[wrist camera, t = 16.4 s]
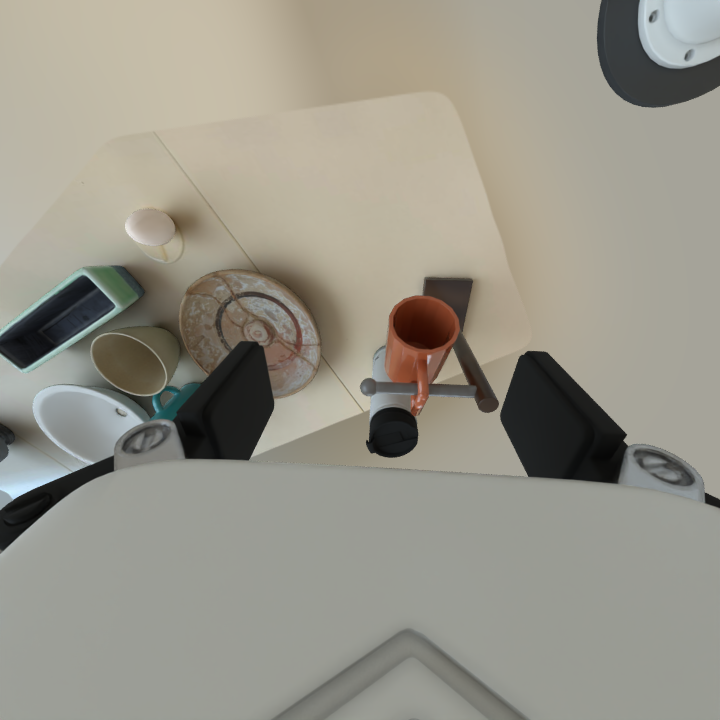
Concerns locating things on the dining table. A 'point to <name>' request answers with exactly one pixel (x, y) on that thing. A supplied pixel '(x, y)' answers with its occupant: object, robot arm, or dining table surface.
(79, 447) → the white sink basin
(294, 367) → the ceramic bowl
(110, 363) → the flower pot
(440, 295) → the bent pole stand
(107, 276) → the planter
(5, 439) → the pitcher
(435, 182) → the dining table surface
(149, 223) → the egg
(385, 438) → the travel mug
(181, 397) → the cup
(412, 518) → the robot arm
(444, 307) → the mug
